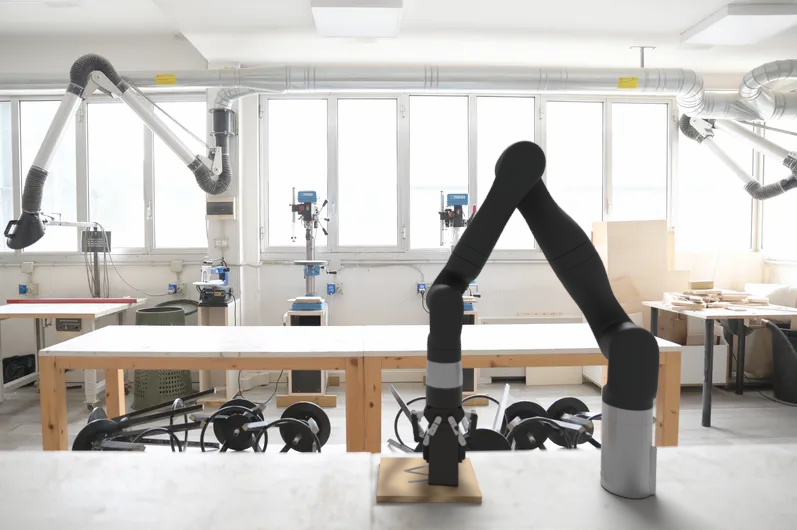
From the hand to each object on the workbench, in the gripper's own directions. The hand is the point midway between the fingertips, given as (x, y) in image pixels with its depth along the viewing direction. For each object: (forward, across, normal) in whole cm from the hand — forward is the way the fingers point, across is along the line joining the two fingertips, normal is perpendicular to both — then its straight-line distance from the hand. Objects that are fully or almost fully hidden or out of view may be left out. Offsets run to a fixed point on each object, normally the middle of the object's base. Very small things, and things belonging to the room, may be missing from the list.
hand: (443, 461), depth 95 cm
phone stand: (+3, 0, 0) cm, 3 cm away
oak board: (+4, +4, 0) cm, 5 cm away
